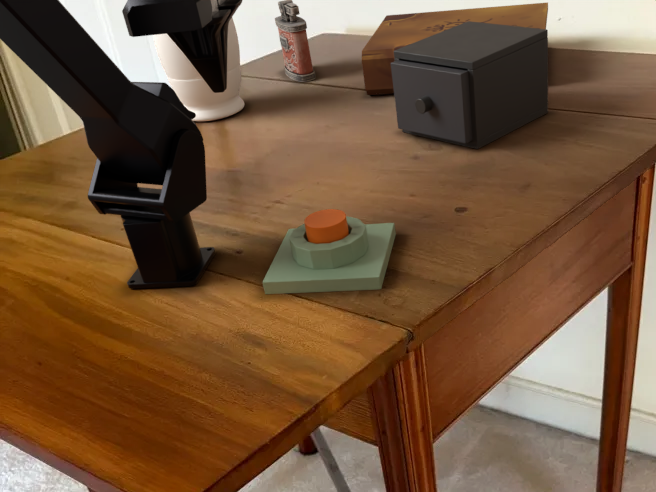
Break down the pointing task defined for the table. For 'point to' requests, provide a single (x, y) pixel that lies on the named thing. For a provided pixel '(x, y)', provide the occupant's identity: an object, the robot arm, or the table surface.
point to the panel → (332, 260)
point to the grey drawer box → (491, 74)
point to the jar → (193, 85)
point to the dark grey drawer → (433, 100)
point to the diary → (422, 25)
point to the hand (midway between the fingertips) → (220, 91)
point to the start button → (326, 226)
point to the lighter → (294, 42)
